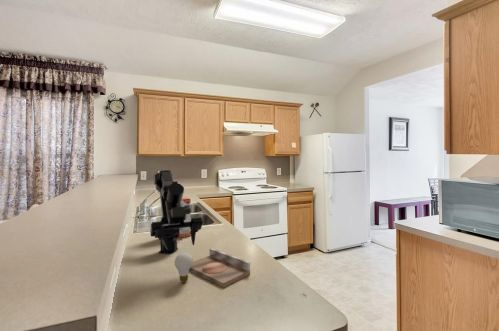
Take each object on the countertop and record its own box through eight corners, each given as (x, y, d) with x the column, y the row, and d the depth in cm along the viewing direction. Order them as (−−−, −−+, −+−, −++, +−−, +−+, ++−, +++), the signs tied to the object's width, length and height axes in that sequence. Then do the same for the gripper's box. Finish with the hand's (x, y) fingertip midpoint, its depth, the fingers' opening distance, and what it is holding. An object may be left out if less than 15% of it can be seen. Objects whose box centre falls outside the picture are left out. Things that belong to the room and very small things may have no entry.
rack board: (185, 268, 99) (184, 257, 99) (211, 258, 109) (211, 248, 109) (223, 287, 84) (223, 274, 84) (250, 274, 94) (250, 262, 94)
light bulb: (176, 278, 91) (176, 250, 91) (193, 277, 92) (193, 249, 91) (173, 286, 85) (172, 256, 85) (191, 285, 86) (190, 256, 85)
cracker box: (164, 240, 133) (163, 200, 132) (162, 237, 138) (161, 198, 137) (191, 236, 139) (190, 198, 139) (188, 233, 145) (187, 196, 144)
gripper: (150, 200, 92) (154, 239, 82) (201, 196, 100) (210, 231, 91) (148, 217, 99) (152, 255, 90) (196, 212, 108) (204, 246, 98)
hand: (180, 246), depth 92 cm, fingers open, 9 cm apart
